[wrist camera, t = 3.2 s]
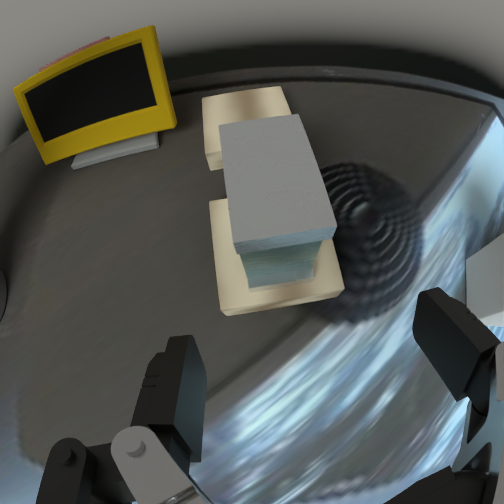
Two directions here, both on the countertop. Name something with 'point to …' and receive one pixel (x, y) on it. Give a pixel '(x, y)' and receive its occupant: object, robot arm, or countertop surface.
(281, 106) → the stand
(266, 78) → the countertop surface
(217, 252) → the stand
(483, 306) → the milk carton
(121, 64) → the toy computer monitor
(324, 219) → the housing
